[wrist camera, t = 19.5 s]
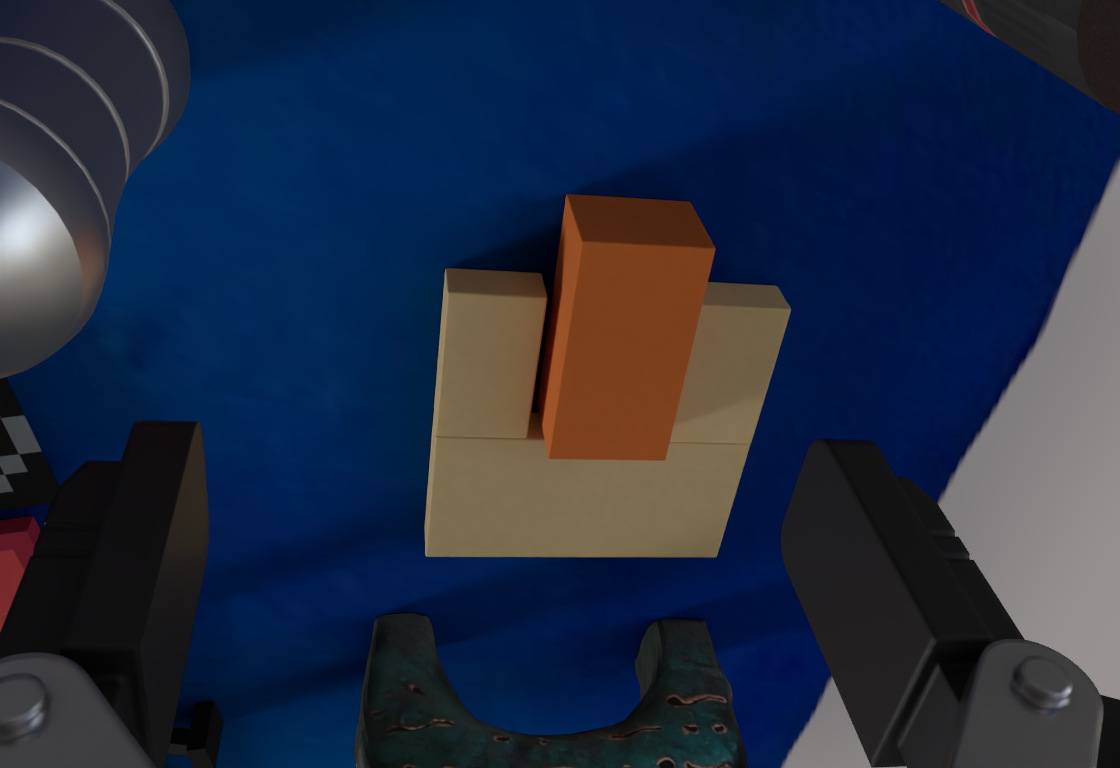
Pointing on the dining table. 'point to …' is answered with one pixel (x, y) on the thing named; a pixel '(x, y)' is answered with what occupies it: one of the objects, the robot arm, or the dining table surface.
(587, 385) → the pad
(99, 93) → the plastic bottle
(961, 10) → the deodorant
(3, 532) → the red board with handle
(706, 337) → the notch pad
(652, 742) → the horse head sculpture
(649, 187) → the dining table surface
